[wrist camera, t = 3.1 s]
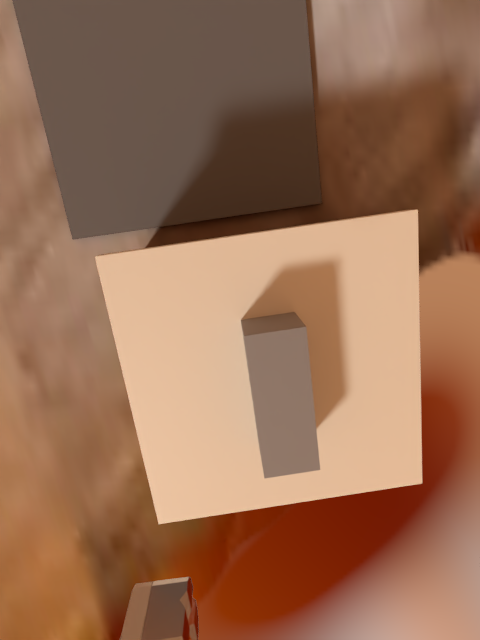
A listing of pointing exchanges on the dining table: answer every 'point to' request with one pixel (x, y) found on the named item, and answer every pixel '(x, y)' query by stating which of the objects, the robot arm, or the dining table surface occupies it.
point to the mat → (173, 108)
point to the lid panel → (212, 371)
